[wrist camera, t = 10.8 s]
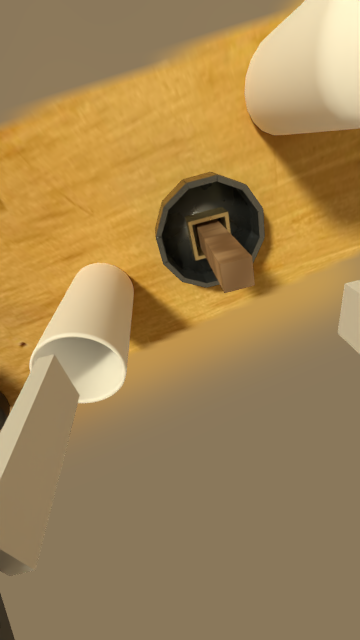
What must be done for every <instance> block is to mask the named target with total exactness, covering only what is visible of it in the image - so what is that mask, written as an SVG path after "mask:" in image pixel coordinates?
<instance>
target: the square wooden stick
mask: <svg viewBox="0 0 360 640" xmlns="http://www.w3.org/2000/svg"><path fill="white" fill-rule="evenodd" d="M195 229H196V234H197V239H198V243H199V245H200V247H201V249H202V251H203V253H204V255H205V257H206V259H207V261H208V262H209V264H210V266H211V268H212V270H213V272H214V274H215V276H216V278H217V279H218V281H219V283H220V285H221V287H222V289H223V291H224V293H227V292H231V291H235V290H238V289H242V288H246V287H250V286H254V285H255V283H254V271H253V260H252V256H251V255H250V254H249V253H248V252H247V250H246V249H245V248H244V247H243V246H242V245H241V244H240V243H239V242H238V241H237V240H236V239H235V238H234V237H233V236H232V235H231V234H230V233H229V232H228V231H227V229H226V228H225V227H224V226H223V225H222V224H221V223H220V222H219V221H218V220H217V219H213V220H209V221H205V222H201V223H198V224H195Z"/></svg>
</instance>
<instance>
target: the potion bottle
mask: <svg viewBox="0 0 360 640" xmlns="http://www.w3.org/2000/svg"><path fill="white" fill-rule="evenodd" d="M245 100H246V106H247V110H248V112H249V114H250V116H251V119H252V121H253V122H254V123H255V124H256V125H257V126H258V127H259V128H260V129H261V130H262V131H264V132H266V133H269V134H271V135H290V134H302V133H313V132H325V131H336V130H348V129H359V128H360V0H305V1H304V2H303V3H302V4H301V5H300V6H299V7H298V8H297V9H296V10H295V11H294V12H293V13H292V14H290V15H289V16H288V17H287V18H286V19H285V20H284V21H283V22H282V23H281V24H280V25H279V26H278V27H276V28H275V29H274V30H273V31H272V32H271V33H270V34H269V35H268V36H267V37H266V38H265V39H264V40H263V41H262V42H261V43H260V45H259V47H258V48H257V50H256V52H255V53H254V55H253V57H252V59H251V62H250V65H249V68H248V71H247V74H246V81H245Z"/></svg>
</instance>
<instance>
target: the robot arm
mask: <svg viewBox="0 0 360 640" xmlns="http://www.w3.org/2000/svg"><path fill="white" fill-rule="evenodd" d="M338 334H339V335H340V336H341V337H342V338H343V339H344V340H346V342H347V343H348V344H349V345H350V346H352V347H353V348H354V349H355V350H356V351H357V352H358V353H359V354H360V280H358V281H354V282H350V283H346V284H345V286H344V293H343V300H342V307H341V314H340V320H339V327H338ZM79 396H80V395H79V393H78V391H77V390H76V388H75V387H74V385H73V383H72V382H71V380H70V379H69V377H68V375H67V374H66V372H65V371H64V369H63V367H62V366H61V364H60V362H59V361H58V359H57V358H56V356H55V354H53V355H49V356H44V357H40V358H37V360H36V362H35V364H34V366H33V368H32V370H31V372H30V374H29V376H28V378H27V380H26V382H25V384H24V386H23V388H22V390H21V392H20V394H19V396H18V398H17V400H16V402H15V404H14V406H13V408H12V410H11V412H10V408H9V404H8V401H7V400H6V398H5V396H4V395H3V394H2V393H1V392H0V430H1V429H2V430H1V432H0V571H1V572H3V573H5V574H7V575H9V576H13V575H16V574H21V573H25V572H30V571H34V570H35V569H36V565H37V561H38V557H39V553H40V549H41V545H42V541H43V537H44V533H45V530H46V526H47V522H48V518H49V514H50V510H51V506H52V502H53V498H54V494H55V490H56V487H57V483H58V478H59V475H60V471H61V467H62V463H63V459H64V455H65V451H66V447H67V443H68V439H69V435H70V432H71V428H72V424H73V420H74V416H75V412H76V408H77V404H78V400H79ZM9 412H10V414H9ZM2 427H3V428H2ZM0 640H15V639H14V636H13V633H12V630H11V626H10V623H9V620H8V617H7V613H6V610H5V607H4V604H3V601H2V597H1V594H0Z"/></svg>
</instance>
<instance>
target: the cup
mask: <svg viewBox="0 0 360 640" xmlns="http://www.w3.org/2000/svg"><path fill="white" fill-rule="evenodd" d="M133 298H134V288H133V284H132V282H131V280H130V278H129V277H128V275H127V274H126V273H125V272H124V271H122V270H121V269H119V268H118V267H116V266H114V265H111V264H107V263H94V264H90V265H88V266H85V267H84V268H82V269H81V270H80V271H79V272H78V273H77V275H76V276H75V278H74V280H73V281H72V283H71V285H70V287H69V289H68V290H67V292H66V294H65V296H64V298H63V299H62V301H61V303H60V305H59V306H58V308H57V310H56V312H55V314H54V315H53V317H52V319H51V321H50V323H49V324H48V326H47V328H46V330H45V331H44V333H43V335H42V337H41V339H40V340H39V342H38V344H37V346H36V348H35V350H34V351H33V353H32V356H31V359H30V372H31V370H32V368H33V366H34V364H35V362H36V360H37V358H40V357H44V356H49V355H53V354H55V356H56V358H57V359H58V361H59V362H60V364H61V366H62V367H63V369H64V371H65V372H66V374H67V375H68V377H69V379H70V380H71V382H72V383H73V385H74V387H75V388H76V390H77V391H78V393H79V395H80V396H79V400H78V403H91V402H97V401H101V400H104V399H106V398H108V397H110V396H112V395H113V394H115V393H116V392H117V391H118V390H119V389H120V388H121V386H122V385H123V383H124V380H125V377H126V372H127V362H128V351H129V341H130V330H131V320H132V309H133Z"/></svg>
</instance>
